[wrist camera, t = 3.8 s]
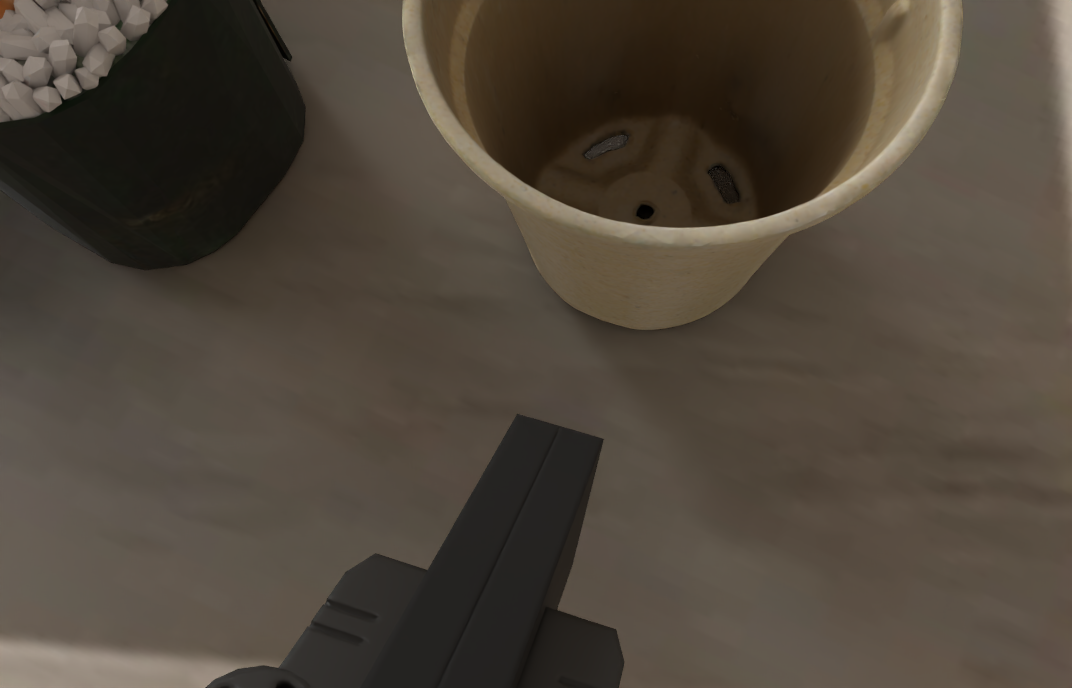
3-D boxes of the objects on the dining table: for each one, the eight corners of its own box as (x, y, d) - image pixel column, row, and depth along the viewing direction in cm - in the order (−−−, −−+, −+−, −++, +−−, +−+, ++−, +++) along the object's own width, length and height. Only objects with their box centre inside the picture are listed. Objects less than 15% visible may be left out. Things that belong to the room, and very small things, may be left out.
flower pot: (904, 206, 23) (1080, -42, 14) (671, 475, 21) (723, 365, 13) (626, 16, 25) (644, -288, 17) (395, 241, 23) (289, 20, 15)
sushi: (139, -25, 27) (-39, -290, 19) (358, 91, 25) (256, -151, 17) (-45, 177, 25) (-325, -30, 17) (177, 319, 23) (-27, 158, 15)
